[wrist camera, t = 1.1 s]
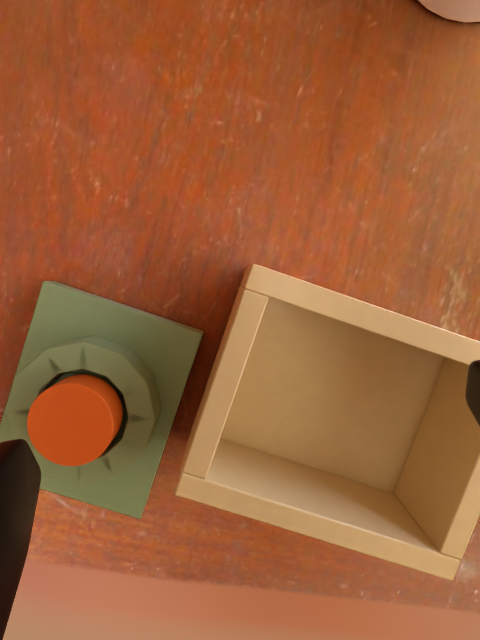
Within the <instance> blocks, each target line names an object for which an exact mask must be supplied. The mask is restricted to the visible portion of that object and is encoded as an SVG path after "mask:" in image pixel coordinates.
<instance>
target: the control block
mask: <svg viewBox="0 0 480 640" xmlns="http://www.w3.org/2000/svg"><path fill="white" fill-rule="evenodd" d="M203 333H204V331H202V330H199V329H196V328H193V327H190V326H187V325H184V324H181V323H178V322H175V321H172V320H169V319H166V318H163V317H160V316H157V315H154V314H151V313H148V312H145V311H142V310H139V309H136V308H133V307H130V306H127V305H124V304H121V303H118V302H115V301H112V300H109V299H106V298H103V297H100V296H97V295H94V294H91V293H88V292H85V291H82V290H79V289H77V288H74V287H71V286H68V285H65V284H62V283H59V282H56V281H43V284H42V287H41V290H40V294H39V297H38V300H37V304H36V307H35V310H34V314H33V317H32V320H31V324H30V327H29V330H28V334H27V337H26V340H25V344H24V347H23V350H22V354H21V357H20V360H19V364H18V367H17V370H16V373H15V377H14V380H13V383H12V387H11V390H10V393H9V397H8V400H7V403H6V407H5V410H4V413H3V417H2V420H1V423H0V443H1V442H3V441H8V440H14V439H24V440H26V441H27V443H28V444H29V446H30V448H31V450H32V452H33V454H34V456H35V458H36V460H37V462H38V464H39V467H40V470H41V483H40V488H39V489H43V490H46V491H49V492H52V493H56V494H59V495H62V496H66V497H69V498H72V499H75V500H79V501H82V502H85V503H88V504H92V505H95V506H98V507H102V508H105V509H108V510H111V511H115V512H118V513H121V514H124V515H128V516H131V517H134V518H138V519H140V518H141V516H142V513H143V511H144V508H145V505H146V502H147V499H148V496H149V493H150V490H151V487H152V484H153V481H154V478H155V475H156V472H157V469H158V466H159V463H160V460H161V457H162V454H163V451H164V448H165V445H166V442H167V440H168V437H169V434H170V431H171V428H172V425H173V422H174V419H175V416H176V413H177V410H178V407H179V404H180V401H181V398H182V395H183V392H184V389H185V386H186V383H187V380H188V377H189V374H190V371H191V368H192V365H193V362H194V359H195V356H196V353H197V350H198V347H199V344H200V341H201V338H202V336H203ZM79 374H86V375H92V376H95V377H98V378H100V379H102V380H104V381H105V382H107V383H108V384H109V385H110V386H111V387H112V388H113V389H114V390H115V391H116V393H117V394H118V396H119V398H120V400H121V404H122V409H123V418H122V423H121V426H120V429H119V431H118V433H117V434H116V436H115V437H114V439H113V440H112V441H111V443H110V444H109V446H108V447H107V448H106V450H105V451H104V452H103V453H102V454H101V455H100V456H99V457H98V458H96V459H95V460H93V461H91V462H89V463H87V464H83V465H79V466H63V465H59V464H56V463H53V462H51V461H49V460H47V459H46V458H45V457H43V456H42V455H41V454H40V453H39V452H38V451H37V450H36V449H35V447H34V446H33V444H32V442H31V440H30V438H29V434H28V430H27V417H28V413H29V410H30V407H31V405H32V404H33V402H34V400H35V399H36V398H37V397H38V396H39V395H40V394H41V393H42V392H43V391H45V390H46V389H48V388H49V387H51V386H53V385H54V384H56V383H57V382H59V381H61V380H63V379H64V378H67V377H69V376H73V375H79Z"/></svg>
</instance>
